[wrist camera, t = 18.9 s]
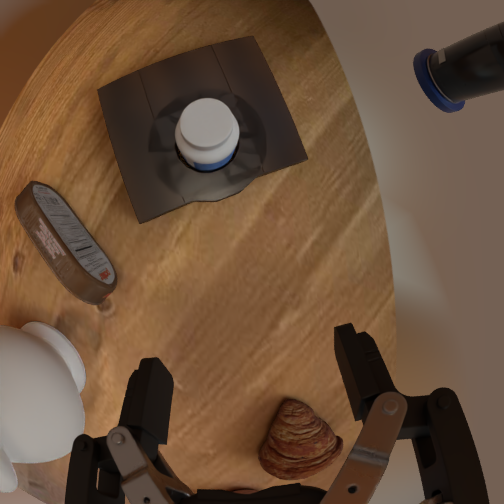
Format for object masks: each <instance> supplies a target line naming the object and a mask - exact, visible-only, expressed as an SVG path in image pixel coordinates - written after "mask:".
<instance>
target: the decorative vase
mask: <svg viewBox="0 0 504 504" xmlns="http://www.w3.org/2000/svg"><path fill="white" fill-rule="evenodd" d="M85 382H86V372H85V367H84V364H83V362H82V359H81V357H80V355H79V353H78V352H77V350H76V349H75V347H74V346H73V345H72V343H71V342H70V341H69V340H68V339H67V338H66V337H65V336H64V335H63V334H62V333H61V332H59V331H58V330H57V329H55V328H54V327H52V326H50V325H48V324H46V323H43V322H38V321H33V322H29V323H27V324H25V325H24V326H23V327H22V328H21V329H17V328H14V327H10V326H5V325H0V492H5V493H6V492H7V493H8V492H12V491H14V490H15V489H16V487H17V485H18V480H17V476H16V473H15V470H14V468H13V465H12V463H11V462H16V463H42V462H48V461H52V460H55V459H58V458H61V457H63V456H65V455H67V454H68V453H70V452H71V451H72V446H73V442H74V440H75V438H76V437H77V436H79V435H81V434H83V431H84V426H85V413H84V407H83V403H82V400H81V397H80V394H79V393H80V392H81V391H82V390H83V388H84V386H85Z"/></svg>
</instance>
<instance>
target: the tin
mask: <svg viewBox="0 0 504 504" xmlns="http://www.w3.org/2000/svg"><path fill="white" fill-rule="evenodd" d="M15 211H16V214H17V217H18V219H19V221H20V223H21V225H22V226H23V228H24V230H25V231H26V233H27V234H28V236H29V238H30V239H31V241H32V242H33V244H34V245H35V247H36V248H37V250H38V251H39V253H40V254H41V256H42V257H43V259H44V260H45V262H46V263H47V265H48V266H49V267H50V269H51V270H52V271H53V273H54V274H55V276H56V277H57V278H58V280H59V281H60V282H61V283H62V285H63V286H64V287H65V288H66V289H67V290H68V291H69V292H71V293H72V294H73V295H74V296H75V297H77V298H78V299H80V300H82V301H83V302H86V303H88V304H92V305H99V304H102V303H103V302H104V301H105V299H106V298H107V296H109V295H110V294H111V293H112V292H113V290H114V289H115V288H116V285H117V274H116V271H115V269H114V267H113V265H112V263H111V262H110V260H109V258H108V257H107V256H106V254H105V253H104V252H103V250H102V249H101V248H100V246H99V245H98V244H97V243H96V241H95V240H94V239H93V237H92V236H91V235H90V233H89V232H88V231H87V229H86V228H85V227H84V225H83V224H82V223H81V221H80V220H79V218H78V217H77V216H76V214H75V213H74V212H73V210H72V209H71V207H70V206H69V205H68V203H67V202H66V201H65V200H64V199H63V198H62V196H61V195H60V194H59V193H58V192H56V191H55V190H54V189H53V188H52V187H50V186H49V185H47V184H44V183H41V182H37V181H31V182H30V183H29V184H28V185H27V186H26V187H25V188H24V190H23V191H22V192H21V194H20V195H18V196H17V197H16V199H15Z"/></svg>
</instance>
